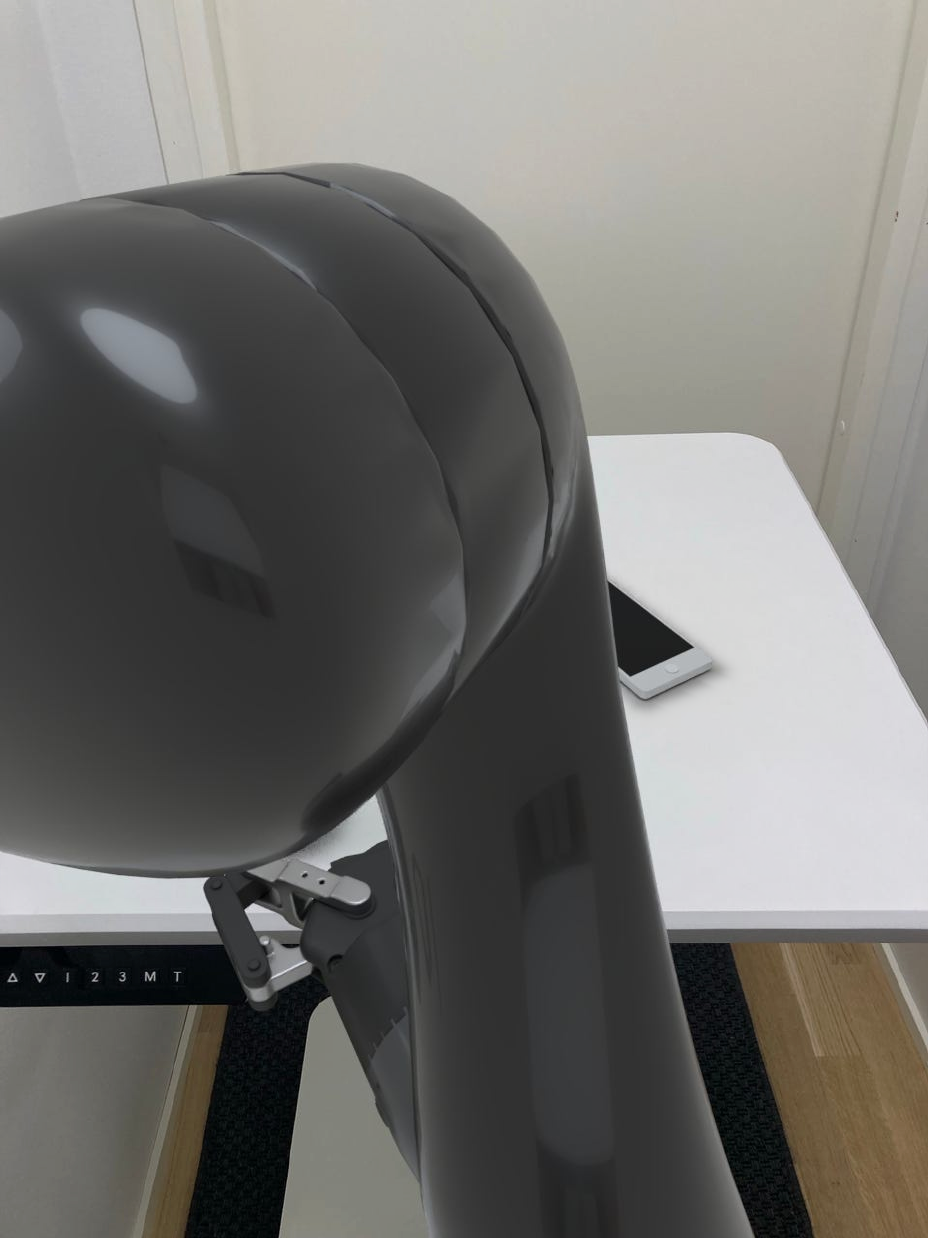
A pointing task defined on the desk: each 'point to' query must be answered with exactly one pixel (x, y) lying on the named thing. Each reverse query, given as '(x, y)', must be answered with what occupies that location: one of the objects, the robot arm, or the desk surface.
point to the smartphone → (650, 648)
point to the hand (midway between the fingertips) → (319, 779)
